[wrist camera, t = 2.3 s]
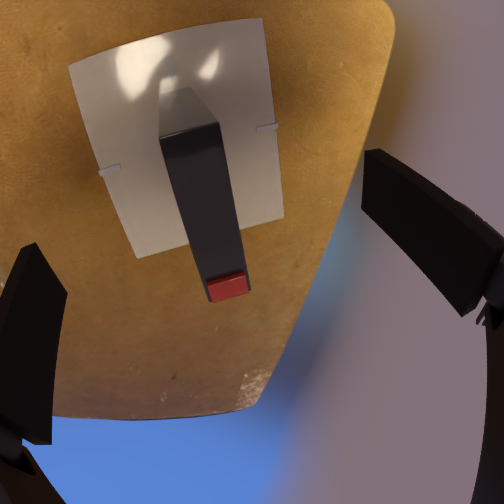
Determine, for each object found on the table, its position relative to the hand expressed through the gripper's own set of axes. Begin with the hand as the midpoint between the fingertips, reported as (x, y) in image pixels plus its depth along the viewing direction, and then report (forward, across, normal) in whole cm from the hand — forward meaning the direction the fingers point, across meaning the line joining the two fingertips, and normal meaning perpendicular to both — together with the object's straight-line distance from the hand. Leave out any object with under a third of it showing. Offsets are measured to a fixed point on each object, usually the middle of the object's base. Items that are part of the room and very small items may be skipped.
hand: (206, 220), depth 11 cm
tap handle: (+8, 0, 0) cm, 8 cm away
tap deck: (+11, 0, 0) cm, 11 cm away
